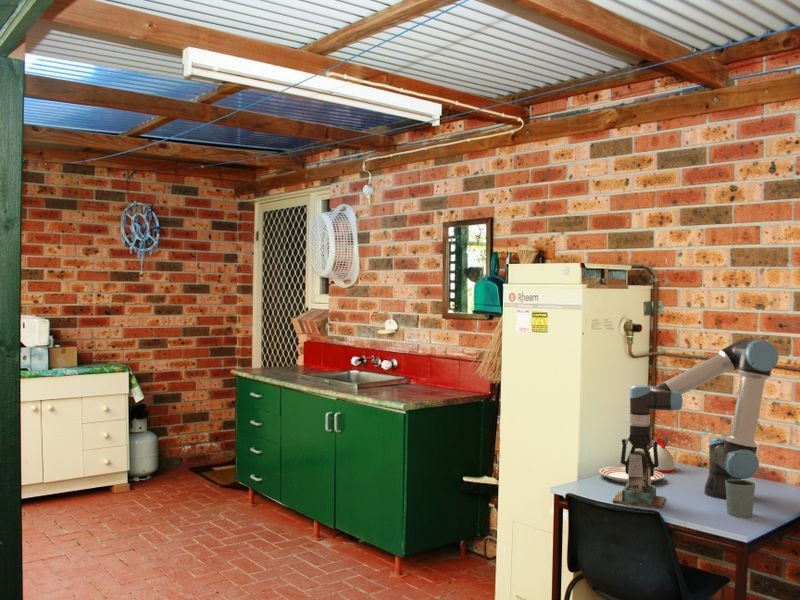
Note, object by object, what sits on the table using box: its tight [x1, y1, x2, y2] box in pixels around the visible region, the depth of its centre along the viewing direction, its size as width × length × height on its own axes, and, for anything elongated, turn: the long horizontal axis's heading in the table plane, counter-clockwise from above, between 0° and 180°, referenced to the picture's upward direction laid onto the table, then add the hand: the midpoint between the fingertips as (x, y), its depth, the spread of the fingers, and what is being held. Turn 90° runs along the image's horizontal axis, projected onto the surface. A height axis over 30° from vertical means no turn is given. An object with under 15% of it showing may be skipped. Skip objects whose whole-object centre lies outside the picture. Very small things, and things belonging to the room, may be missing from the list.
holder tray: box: [612, 483, 666, 509], centre depth 291 cm, size 18×15×5 cm
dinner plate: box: [598, 466, 665, 484], centre depth 327 cm, size 28×27×3 cm
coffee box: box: [628, 450, 651, 493], centre depth 291 cm, size 9×6×16 cm
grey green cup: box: [725, 479, 756, 519], centre depth 273 cm, size 10×10×12 cm
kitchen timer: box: [648, 437, 676, 474], centre depth 344 cm, size 14×14×15 cm
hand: (639, 483), depth 291 cm, fingers closed on coffee box, 7 cm apart
